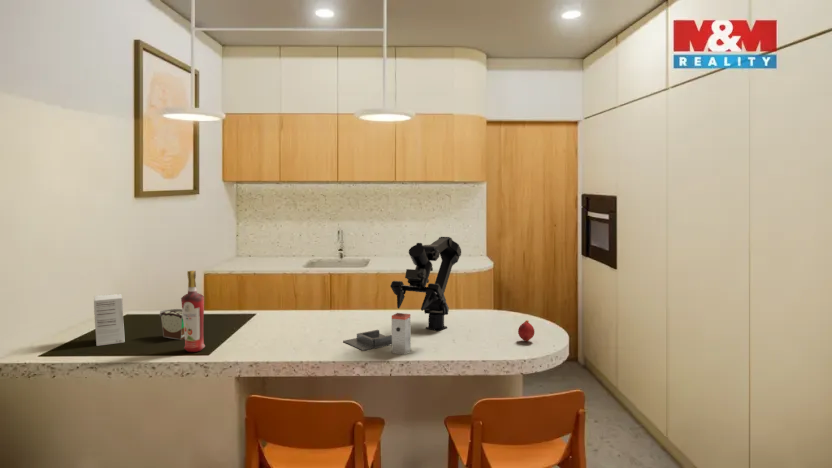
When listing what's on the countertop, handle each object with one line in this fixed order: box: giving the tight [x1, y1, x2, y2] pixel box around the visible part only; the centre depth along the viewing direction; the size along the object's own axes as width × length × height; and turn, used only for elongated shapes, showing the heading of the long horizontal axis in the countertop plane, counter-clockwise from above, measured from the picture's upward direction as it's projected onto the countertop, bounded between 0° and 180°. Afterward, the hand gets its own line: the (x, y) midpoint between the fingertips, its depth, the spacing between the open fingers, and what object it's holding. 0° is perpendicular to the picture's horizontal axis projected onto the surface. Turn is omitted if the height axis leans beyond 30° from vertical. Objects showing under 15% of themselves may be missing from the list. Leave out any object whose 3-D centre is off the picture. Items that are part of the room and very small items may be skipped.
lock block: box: [391, 312, 412, 356], centre depth 187 cm, size 5×5×13 cm
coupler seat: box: [342, 329, 392, 352], centre depth 200 cm, size 16×14×3 cm
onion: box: [517, 319, 535, 342], centre depth 199 cm, size 6×6×8 cm
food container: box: [159, 308, 185, 341], centre depth 209 cm, size 12×6×10 cm, turn 65°
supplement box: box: [93, 293, 126, 347], centre depth 202 cm, size 10×9×17 cm
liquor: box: [180, 270, 206, 353], centre depth 190 cm, size 7×7×28 cm
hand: (409, 309), depth 194 cm, fingers open, 9 cm apart
